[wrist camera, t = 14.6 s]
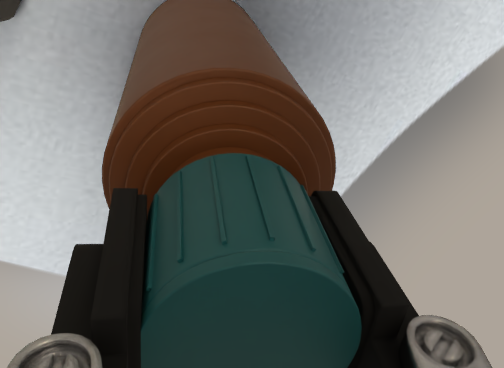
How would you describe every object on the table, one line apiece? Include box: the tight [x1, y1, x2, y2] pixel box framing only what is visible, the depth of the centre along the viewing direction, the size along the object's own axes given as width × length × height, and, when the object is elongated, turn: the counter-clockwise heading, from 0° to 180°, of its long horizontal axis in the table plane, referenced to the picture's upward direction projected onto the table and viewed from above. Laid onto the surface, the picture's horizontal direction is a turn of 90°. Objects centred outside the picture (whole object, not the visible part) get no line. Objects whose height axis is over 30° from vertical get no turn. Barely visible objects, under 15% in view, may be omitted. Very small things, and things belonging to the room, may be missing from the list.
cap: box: [141, 153, 362, 368], centre depth 9 cm, size 4×4×4 cm
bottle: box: [102, 0, 336, 219], centre depth 16 cm, size 6×6×18 cm
